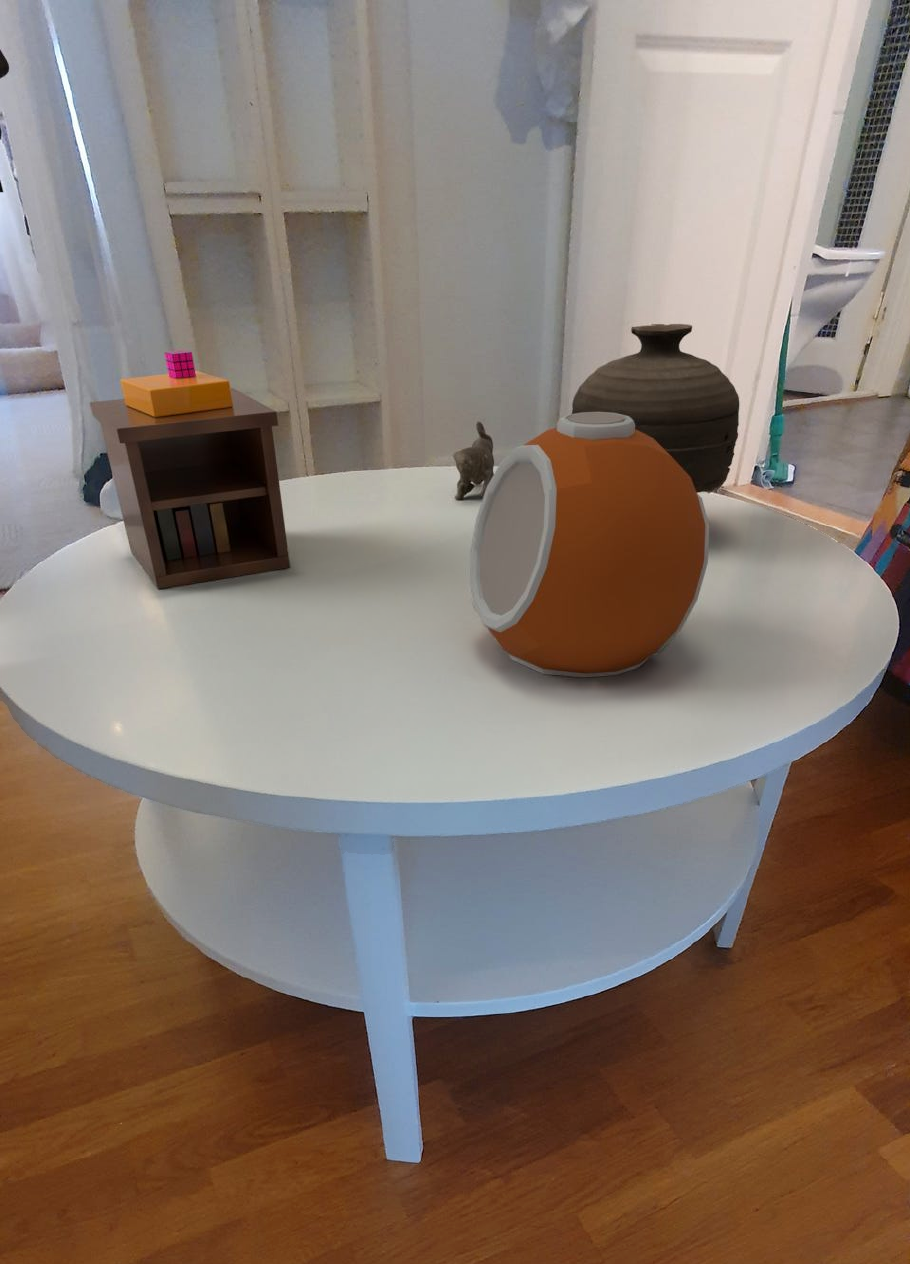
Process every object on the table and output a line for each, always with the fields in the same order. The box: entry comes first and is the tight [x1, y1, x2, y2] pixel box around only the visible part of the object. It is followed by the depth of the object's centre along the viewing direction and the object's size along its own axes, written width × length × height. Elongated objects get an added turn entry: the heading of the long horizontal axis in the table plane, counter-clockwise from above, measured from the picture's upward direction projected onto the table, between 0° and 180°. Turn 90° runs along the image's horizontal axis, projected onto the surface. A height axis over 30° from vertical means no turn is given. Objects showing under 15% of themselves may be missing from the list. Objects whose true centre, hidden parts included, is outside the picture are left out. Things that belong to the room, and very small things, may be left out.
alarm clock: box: [468, 412, 710, 678], centre depth 73 cm, size 19×18×17 cm
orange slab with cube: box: [120, 349, 233, 417], centre depth 88 cm, size 8×8×4 cm
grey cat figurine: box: [452, 421, 495, 501], centre depth 114 cm, size 12×6×7 cm, turn 171°
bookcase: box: [89, 387, 291, 590], centre depth 94 cm, size 15×15×14 cm
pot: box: [571, 323, 740, 494], centre depth 97 cm, size 18×18×20 cm
